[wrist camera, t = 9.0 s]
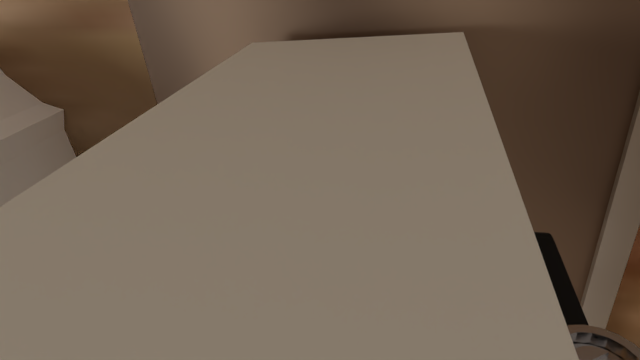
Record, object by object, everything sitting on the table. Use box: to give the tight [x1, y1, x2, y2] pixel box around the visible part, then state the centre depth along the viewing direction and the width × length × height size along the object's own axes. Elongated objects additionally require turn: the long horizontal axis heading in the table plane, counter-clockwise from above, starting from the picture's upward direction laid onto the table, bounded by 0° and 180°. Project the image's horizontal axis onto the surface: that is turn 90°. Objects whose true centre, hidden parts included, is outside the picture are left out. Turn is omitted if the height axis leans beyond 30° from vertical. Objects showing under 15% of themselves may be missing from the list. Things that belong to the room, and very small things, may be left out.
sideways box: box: [0, 32, 579, 360], centre depth 8 cm, size 5×8×10 cm, turn 5°
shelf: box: [128, 0, 640, 329], centre depth 17 cm, size 14×25×2 cm, turn 5°
